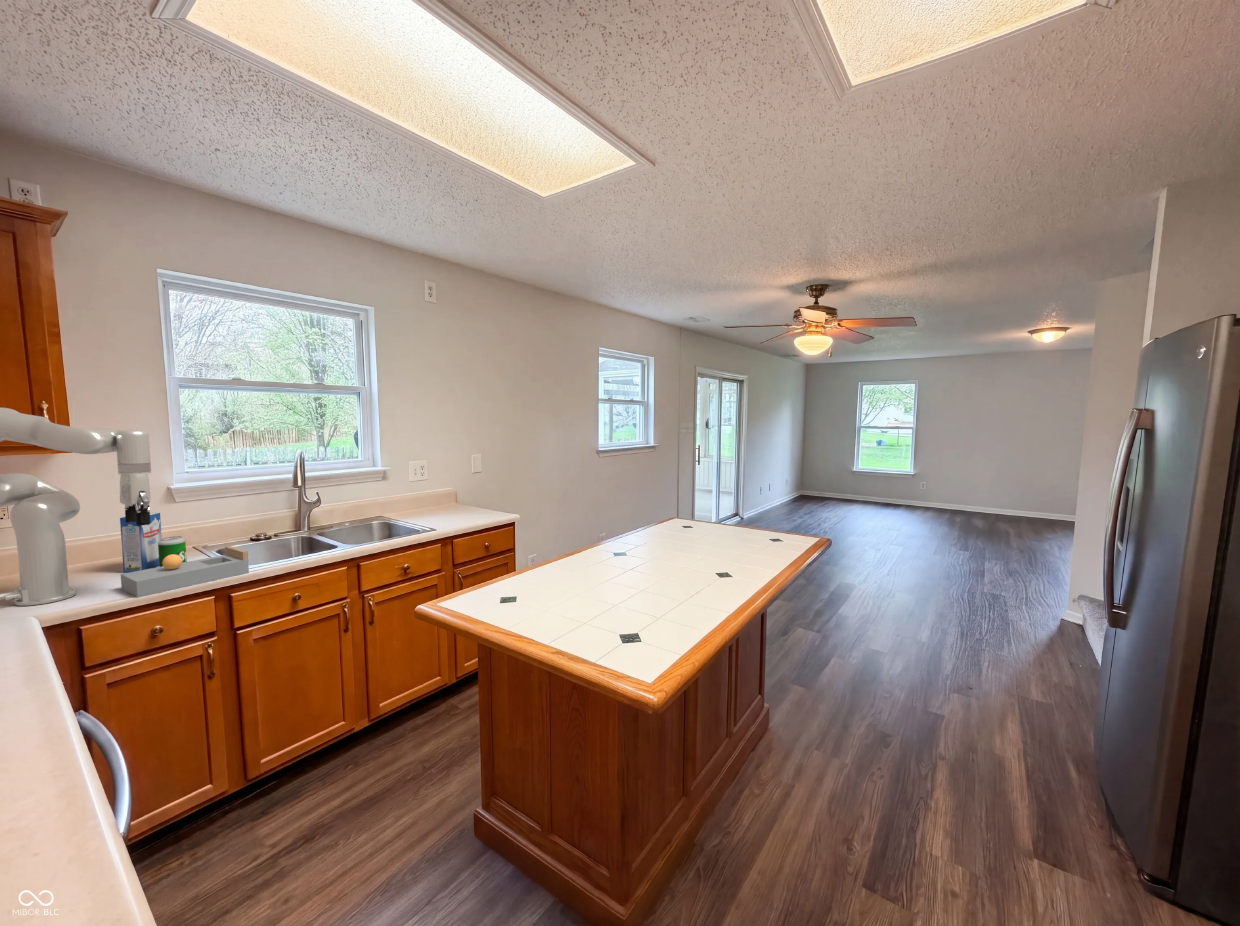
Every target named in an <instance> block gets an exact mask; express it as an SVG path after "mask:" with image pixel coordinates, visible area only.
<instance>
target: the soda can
mask: <svg viewBox="0 0 1240 926" xmlns="http://www.w3.org/2000/svg"><path fill="white" fill-rule="evenodd" d="M186 543H187V541H186V538H184V537H183V536H179V535H178V536H177V535H176V536H165V537H163V538H162V539H161V540H160V541H159V542H158V551H159V567H162V566H163V564H162V562H163V559H164V558H165V557H167V556H168V555H172V554H175V555H179V556H180V557H181V558H182V563H183V562H188V561H187V560H188V559H187V544H186Z"/></svg>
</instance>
